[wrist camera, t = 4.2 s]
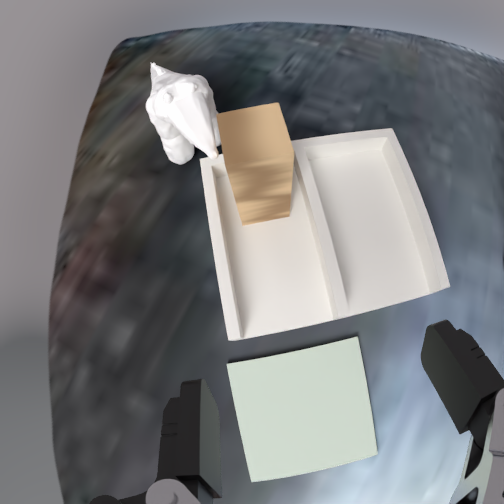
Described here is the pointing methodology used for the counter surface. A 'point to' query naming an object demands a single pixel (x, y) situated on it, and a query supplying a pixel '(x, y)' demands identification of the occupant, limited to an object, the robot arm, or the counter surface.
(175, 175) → the counter surface
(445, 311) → the counter surface
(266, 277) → the tray
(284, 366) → the sage mat
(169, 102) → the dinosaur statue
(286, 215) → the oak block
